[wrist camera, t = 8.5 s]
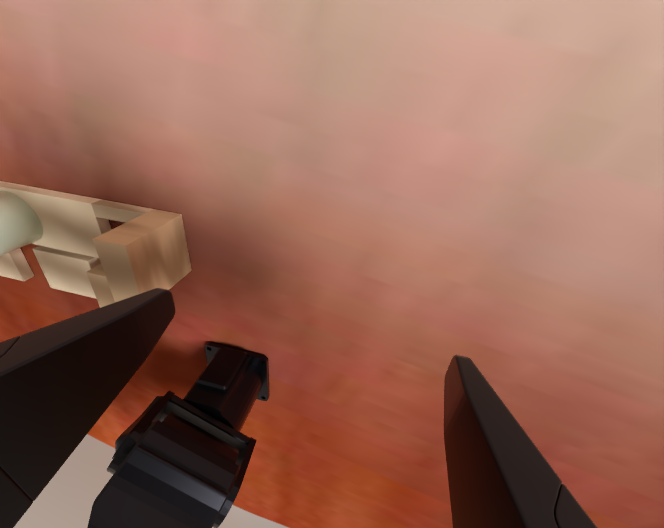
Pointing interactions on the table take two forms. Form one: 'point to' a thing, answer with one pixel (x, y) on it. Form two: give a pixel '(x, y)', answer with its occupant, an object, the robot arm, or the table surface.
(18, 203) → the mint rounded cylinder
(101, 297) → the broken strip
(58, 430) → the robot arm
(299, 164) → the table surface
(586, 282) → the table surface
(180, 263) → the beige long blocky piece
